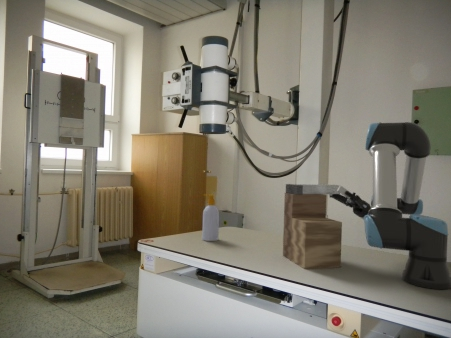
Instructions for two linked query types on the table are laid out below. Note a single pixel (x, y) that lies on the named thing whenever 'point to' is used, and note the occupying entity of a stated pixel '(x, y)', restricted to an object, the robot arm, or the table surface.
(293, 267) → the table surface
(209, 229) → the soap bottle
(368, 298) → the table surface
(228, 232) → the table surface
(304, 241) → the walnut step stand
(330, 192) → the steel bar
